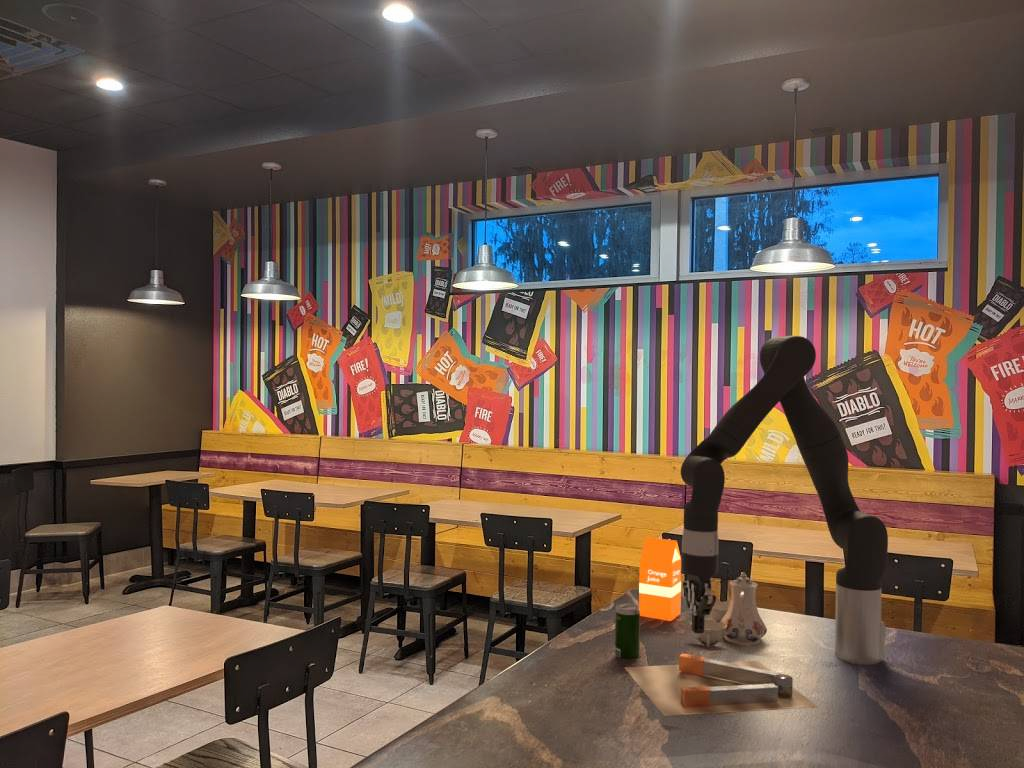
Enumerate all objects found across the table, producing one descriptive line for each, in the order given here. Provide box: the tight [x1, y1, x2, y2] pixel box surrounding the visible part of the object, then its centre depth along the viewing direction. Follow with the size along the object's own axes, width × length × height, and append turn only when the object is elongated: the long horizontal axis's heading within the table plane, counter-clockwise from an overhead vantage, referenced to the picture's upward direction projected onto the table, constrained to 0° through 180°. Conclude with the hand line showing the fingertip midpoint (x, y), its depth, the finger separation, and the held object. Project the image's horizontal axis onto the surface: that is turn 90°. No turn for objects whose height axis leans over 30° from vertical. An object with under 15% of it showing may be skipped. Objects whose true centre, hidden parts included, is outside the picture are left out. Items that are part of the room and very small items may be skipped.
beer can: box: [614, 603, 641, 660], centre depth 175 cm, size 5×5×12 cm
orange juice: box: [638, 536, 682, 622], centre depth 209 cm, size 8×9×20 cm
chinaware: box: [689, 571, 768, 648], centre depth 192 cm, size 28×17×17 cm, turn 161°
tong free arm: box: [678, 653, 794, 697], centre depth 158 cm, size 23×4×3 cm, turn 59°
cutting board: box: [623, 660, 819, 717], centre depth 158 cm, size 30×24×2 cm
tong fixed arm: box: [681, 684, 778, 708], centre depth 149 cm, size 18×2×3 cm, turn 99°
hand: (697, 632), depth 168 cm, fingers closed
